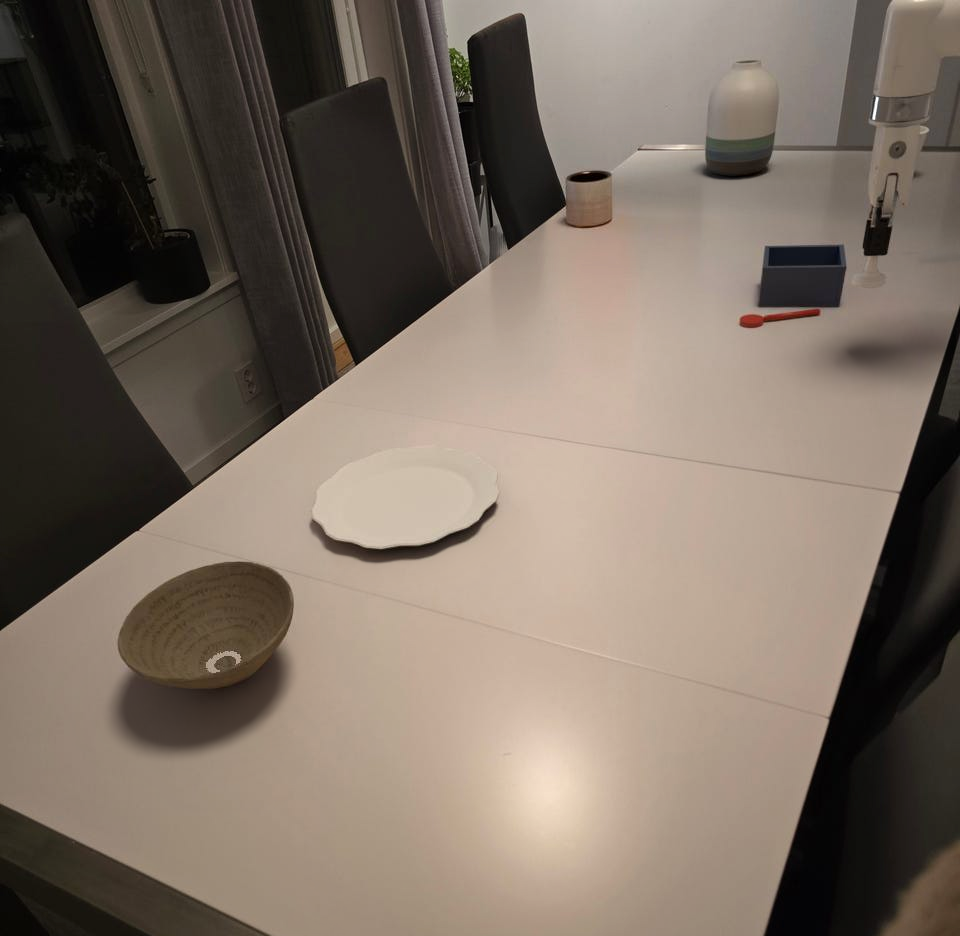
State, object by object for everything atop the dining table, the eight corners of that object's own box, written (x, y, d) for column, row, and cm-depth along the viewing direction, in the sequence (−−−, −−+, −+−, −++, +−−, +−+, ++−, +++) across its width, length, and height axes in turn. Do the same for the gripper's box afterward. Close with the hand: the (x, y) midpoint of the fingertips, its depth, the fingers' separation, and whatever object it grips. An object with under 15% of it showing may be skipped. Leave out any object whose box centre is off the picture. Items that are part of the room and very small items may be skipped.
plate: (438, 577, 99) (436, 564, 98) (277, 535, 110) (273, 522, 109) (531, 473, 115) (530, 461, 114) (382, 445, 125) (380, 433, 124)
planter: (561, 228, 197) (560, 183, 190) (572, 214, 204) (571, 170, 198) (607, 227, 193) (607, 182, 187) (616, 213, 201) (616, 169, 194)
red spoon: (815, 310, 147) (816, 304, 146) (824, 318, 144) (825, 312, 143) (736, 320, 147) (737, 314, 146) (743, 328, 144) (744, 323, 143)
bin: (836, 283, 155) (843, 244, 150) (839, 306, 147) (846, 266, 142) (760, 283, 158) (764, 245, 154) (758, 306, 150) (763, 267, 146)
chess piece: (851, 276, 129) (863, 206, 123) (886, 276, 128) (900, 205, 121) (850, 288, 126) (862, 217, 119) (886, 288, 124) (900, 216, 118)
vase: (758, 160, 224) (770, 52, 208) (780, 175, 211) (794, 61, 195) (696, 168, 224) (702, 61, 208) (713, 183, 211) (722, 70, 195)
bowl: (111, 725, 86) (78, 670, 81) (187, 611, 99) (164, 557, 94) (277, 737, 82) (254, 680, 77) (333, 617, 96) (317, 561, 90)
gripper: (938, 119, 105) (906, 270, 117) (925, 92, 116) (897, 233, 128) (874, 124, 107) (849, 271, 119) (866, 97, 118) (844, 235, 130)
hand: (874, 250), depth 124 cm, fingers closed on chess piece
